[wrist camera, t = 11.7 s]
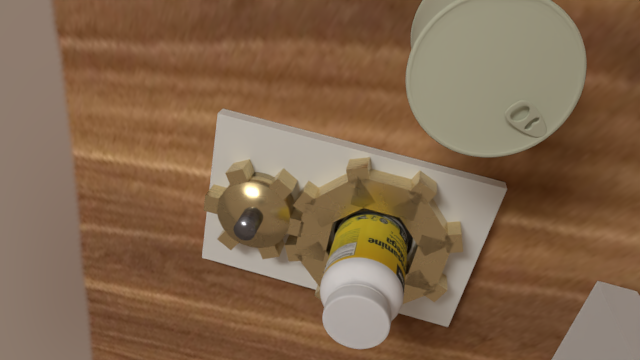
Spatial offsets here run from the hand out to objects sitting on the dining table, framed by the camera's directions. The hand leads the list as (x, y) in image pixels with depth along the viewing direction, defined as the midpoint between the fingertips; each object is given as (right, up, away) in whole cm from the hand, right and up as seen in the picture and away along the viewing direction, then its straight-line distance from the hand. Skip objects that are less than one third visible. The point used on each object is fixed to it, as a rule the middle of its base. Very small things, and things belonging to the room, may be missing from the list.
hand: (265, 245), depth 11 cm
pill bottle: (+6, -3, +34) cm, 35 cm away
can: (+12, +12, +27) cm, 32 cm away
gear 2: (+6, -3, +34) cm, 35 cm away
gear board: (+3, -2, +35) cm, 36 cm away
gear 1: (-4, -1, +35) cm, 35 cm away
